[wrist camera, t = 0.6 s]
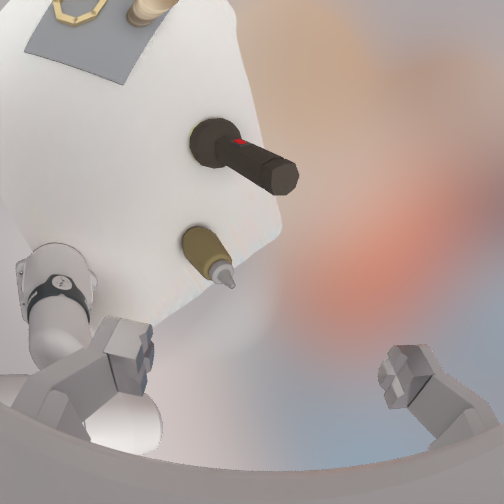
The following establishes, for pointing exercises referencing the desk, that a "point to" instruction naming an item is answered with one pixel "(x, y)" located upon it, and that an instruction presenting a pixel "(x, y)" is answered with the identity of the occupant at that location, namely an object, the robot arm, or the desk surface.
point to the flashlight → (241, 156)
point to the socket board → (92, 36)
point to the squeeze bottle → (208, 256)
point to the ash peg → (147, 11)
